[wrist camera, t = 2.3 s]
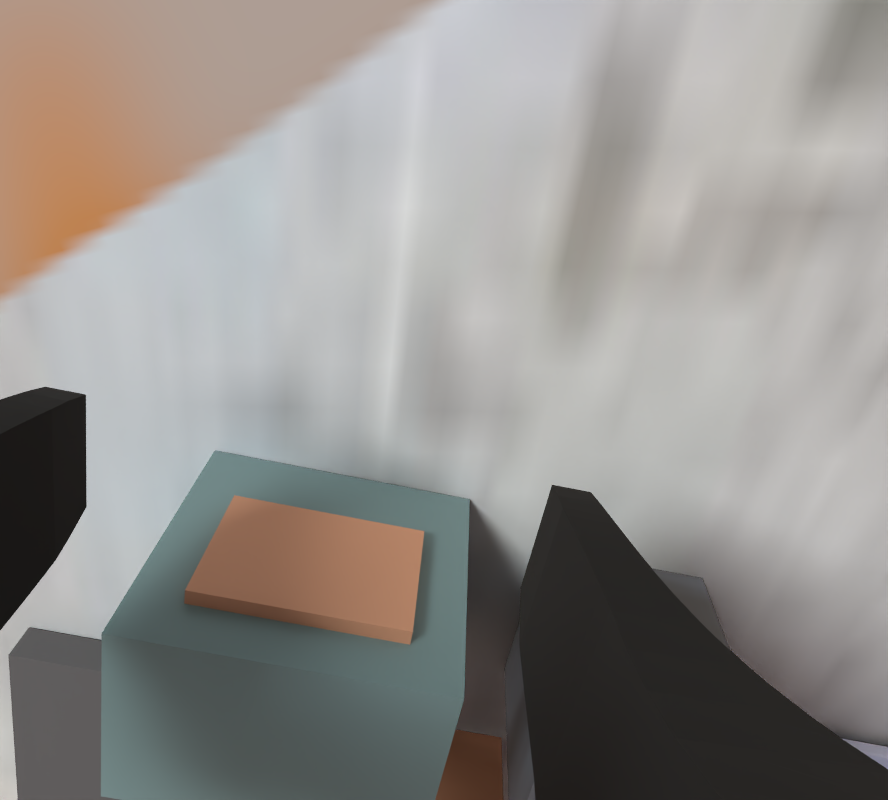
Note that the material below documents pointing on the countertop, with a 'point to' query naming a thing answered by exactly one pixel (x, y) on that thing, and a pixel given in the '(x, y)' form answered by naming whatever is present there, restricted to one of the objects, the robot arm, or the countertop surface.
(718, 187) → the countertop surface
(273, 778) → the box
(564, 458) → the countertop surface
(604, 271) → the countertop surface
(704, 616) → the slate block
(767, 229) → the countertop surface
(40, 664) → the mat
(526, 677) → the robot arm
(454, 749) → the terracotta block
